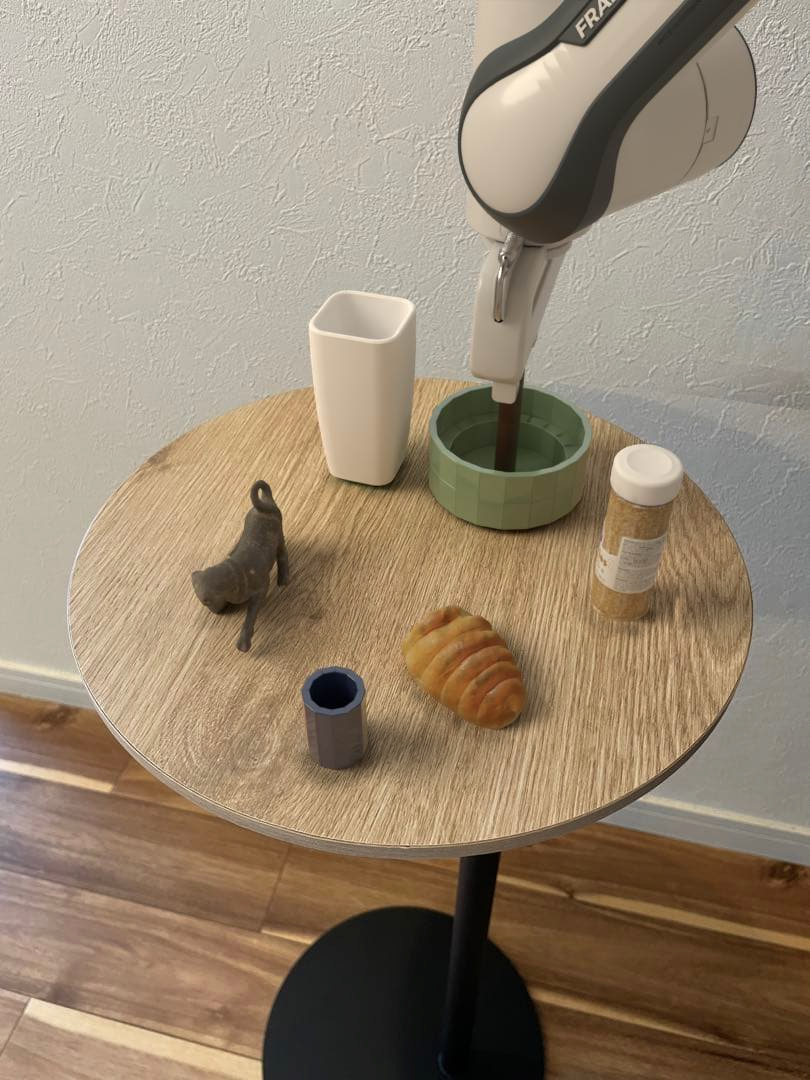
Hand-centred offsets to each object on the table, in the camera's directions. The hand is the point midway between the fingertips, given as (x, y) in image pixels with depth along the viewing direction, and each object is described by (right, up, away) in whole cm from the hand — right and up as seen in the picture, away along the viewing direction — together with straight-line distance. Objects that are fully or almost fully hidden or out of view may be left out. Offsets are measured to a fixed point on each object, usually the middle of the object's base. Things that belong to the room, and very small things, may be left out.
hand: (515, 369), depth 75 cm
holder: (-13, -27, -13) cm, 32 cm away
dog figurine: (-21, -18, -3) cm, 27 cm away
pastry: (-4, -23, -8) cm, 25 cm away
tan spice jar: (+7, -18, -3) cm, 20 cm away
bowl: (0, -9, +8) cm, 11 cm away
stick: (0, -8, +7) cm, 11 cm away
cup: (-12, -7, +9) cm, 17 cm away
